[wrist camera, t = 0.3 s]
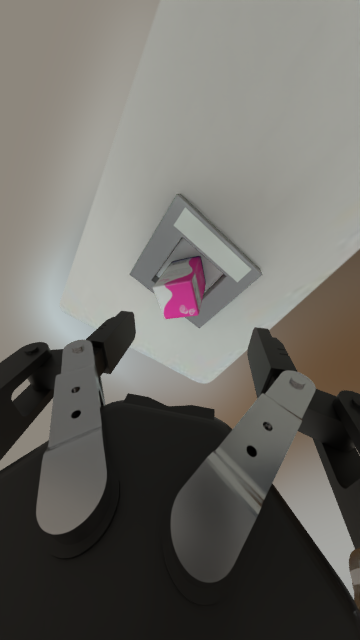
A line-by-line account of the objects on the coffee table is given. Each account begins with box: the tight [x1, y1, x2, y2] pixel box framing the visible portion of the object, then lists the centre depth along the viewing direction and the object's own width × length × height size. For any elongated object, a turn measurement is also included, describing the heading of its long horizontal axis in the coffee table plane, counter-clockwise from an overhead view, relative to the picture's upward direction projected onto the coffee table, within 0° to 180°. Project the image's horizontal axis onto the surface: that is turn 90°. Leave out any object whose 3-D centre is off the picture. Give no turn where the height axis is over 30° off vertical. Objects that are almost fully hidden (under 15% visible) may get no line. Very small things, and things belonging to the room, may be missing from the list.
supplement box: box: [153, 256, 206, 319], centre depth 30 cm, size 6×6×12 cm
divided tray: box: [130, 194, 262, 328], centre depth 33 cm, size 16×18×3 cm
